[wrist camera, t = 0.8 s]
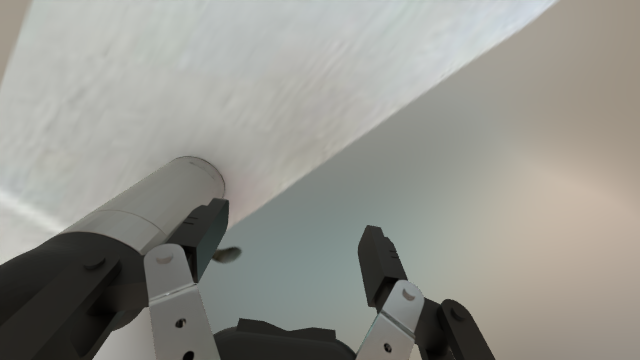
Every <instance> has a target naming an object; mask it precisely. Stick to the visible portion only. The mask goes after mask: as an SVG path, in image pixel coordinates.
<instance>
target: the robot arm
mask: <svg viewBox="0 0 640 360" xmlns="http://www.w3.org/2000/svg"><path fill="white" fill-rule="evenodd" d="M224 190H225V189H224V182H223V179H222V177H221V176H220V174H219V172H218V171H217V170H216V169H215V168H214V167H213V166H211V165H210V164H209V163H207V162H205V161H204V160H201V159H198V158H194V157H181V158H177V159H175V160H173V161H171V162H169V163H168V164H166V165H165V166H163V167H162V168H160V169H159V170H157V171H155V172H154V173H152V174H150V175H149V176H147V177H146V178H144V179H143V180H141V181H140V182H138V183H136V184H135V185H133V186H132V187H130V188H129V189H127V190H126V191H124V192H122V193H121V194H119V195H118V196H116V197H115V198H113V199H112V200H110V201H108V202H107V203H105V204H104V205H102V206H101V207H99V208H98V209H96V210H94V211H93V212H91V213H90V214H88V215H87V216H85V217H84V218H82V219H81V220H79V221H78V222H76V223H75V224H73V225H71V226H70V227H68V228H67V229H65V230H64V231H62V232H60V233H59V234H57V235H56V236H54V237H52V238H51V239H49V240H47V241H46V242H44V243H43V244H41V245H40V246H38V247H36V248H35V249H32V250H30V251H28V252H26V253H23V254H21V255H19V256H17V257H15V258H13V259H11V260H9V261H7V262H5V263H4V264H2V265H0V360H92V359H93V358H94V356H95V355H96V353H97V352H98V350H99V349H100V347H101V346H102V345H103V343H104V342H105V340H106V339H107V337H108V336H109V335H110V333H111V332H112V331H114V330H117V329H120V328H122V327H124V326H125V325H127V324H128V323H130V322H131V321H132V320H133V319H135V318H136V317H137V316H138V314H139V313H140V312H141V311H142V309H143V308H144V307H149V310H150V317H151V324H152V332H153V339H154V346H155V354H156V360H409V357H410V354H411V351H412V348H413V345H414V344H417V345H418V347H419V351H420V354H421V358H422V360H495V358H494V356H493V354H492V352H491V350H490V349H489V347H488V346H487V343H486V341H485V339H484V338H483V336H482V334H481V332H480V330H479V328H478V327H477V325H476V323H475V321H474V319H473V317H472V316H471V314H470V313H469V311H468V310H467V309H466V308H465V307H464V306H462V305H461V304H459V303H458V302H456V301H454V300H451V299H446V300H444V301H443V302H442V303H441V304H438V303H436V302H434V301H432V300H429V299H427V298H425V297H424V296H423V294H422V292H421V291H420V289H419V288H418V287H417V286H416V285H414V284H413V283H411V282H409V281H408V279H407V276H406V274H405V271H404V269H403V266H402V264H401V261H400V259H399V256H398V254H397V253H396V252H397V251H396V249H395V247H394V244H393V243H392V242H391V241H390V239H389V238H388V237H384V235H383V232H382V229H381V228H380V227H376V226H370V225H367V227H366V228H365V231H364V233H363V235H362V238H361V240H360V242H359V245H358V257H359V262H360V267H361V272H362V277H363V282H364V287H365V292H366V297H367V303H368V306H369V307H375V308H376V310H377V316H376V318H375V320H374V322H373V324H372V325H371V327H370V329H369V331H368V333H367V334H366V336H365V338H364V340H363V342H362V344H361V345H360V347H359V349H358V351H357V353H356V354H355V353H354V351H353V350H352V349H350V348H349V347H348V346H347V345H346V344H344V343H343V342H341V341H339V340H337V339H336V334H335V330H329V329H322V328H313V327H312V328H306V329H299V330H293V331H286V330H283V329H281V328H278V327H276V326H274V325H272V324H269V323H267V322H264V321H258V320H250V319H242V318H239V322H238V325H237V326H236V327H231V328H227V329H224V330H222V331H219V332H218V333H216V334H214V335H213V334H212V331H211V328H210V325H209V321H208V318H207V315H206V312H205V309H204V306H203V302H202V299H201V296H200V293H199V290H198V287H197V285H196V284H194V283H198V282H199V280H200V278H201V276H202V275H203V273H204V271H205V269H206V267H207V265H208V264H209V262H210V260H211V258H212V256H213V254H214V252H215V251H216V249H217V247H218V245H219V243H220V241H221V239H222V237H223V235H224V234H225V232H226V229H227V225H228V214H229V200H226V199H222V197H223V195H224ZM452 353H453V354H452ZM454 358H455V359H454Z"/></svg>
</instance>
